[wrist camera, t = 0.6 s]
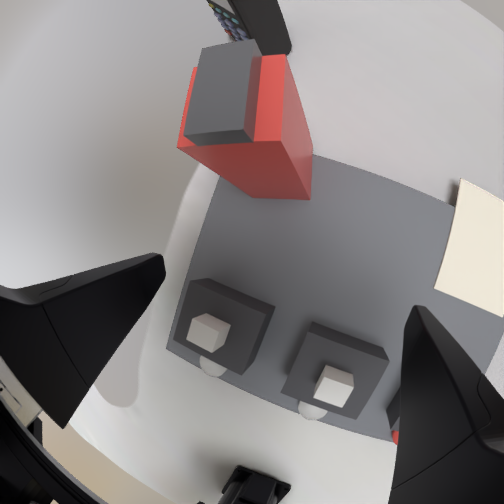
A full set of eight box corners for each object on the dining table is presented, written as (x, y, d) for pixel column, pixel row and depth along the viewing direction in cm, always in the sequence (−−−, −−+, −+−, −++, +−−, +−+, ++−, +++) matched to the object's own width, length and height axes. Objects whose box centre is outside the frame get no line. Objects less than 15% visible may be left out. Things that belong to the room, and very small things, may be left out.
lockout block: (310, 200, 20) (273, 127, 8) (252, 198, 21) (161, 138, 10) (312, 144, 20) (279, 36, 8) (257, 144, 21) (181, 53, 10)
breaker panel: (432, 441, 17) (447, 481, 11) (174, 344, 25) (131, 364, 19) (523, 222, 15) (563, 213, 9) (250, 119, 23) (222, 81, 17)
